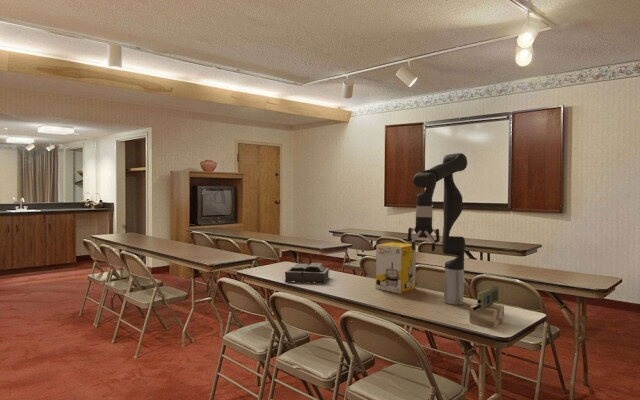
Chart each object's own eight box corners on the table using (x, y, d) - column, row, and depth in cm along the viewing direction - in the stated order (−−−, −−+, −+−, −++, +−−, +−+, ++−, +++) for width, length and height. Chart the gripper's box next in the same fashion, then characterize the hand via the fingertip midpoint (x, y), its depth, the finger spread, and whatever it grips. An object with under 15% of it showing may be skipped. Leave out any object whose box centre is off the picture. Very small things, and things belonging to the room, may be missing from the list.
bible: (321, 286, 259) (321, 269, 259) (279, 282, 269) (279, 265, 268) (334, 278, 281) (334, 262, 281) (294, 275, 291) (294, 259, 290)
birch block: (481, 317, 201) (481, 301, 201) (503, 322, 194) (504, 306, 194) (469, 323, 192) (469, 306, 192) (492, 328, 185) (493, 311, 185)
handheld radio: (499, 301, 202) (478, 312, 183) (492, 300, 204) (470, 311, 185) (499, 286, 202) (478, 296, 183) (492, 285, 204) (470, 295, 185)
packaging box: (415, 288, 255) (416, 244, 255) (401, 293, 243) (402, 247, 242) (390, 284, 266) (391, 242, 265) (375, 288, 253) (376, 244, 252)
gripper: (440, 216, 209) (440, 250, 209) (410, 214, 214) (409, 248, 214) (438, 216, 202) (437, 252, 202) (407, 215, 207) (406, 250, 208)
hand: (423, 250), depth 208 cm, fingers open, 8 cm apart
